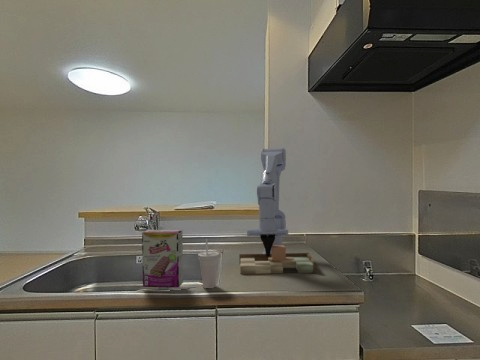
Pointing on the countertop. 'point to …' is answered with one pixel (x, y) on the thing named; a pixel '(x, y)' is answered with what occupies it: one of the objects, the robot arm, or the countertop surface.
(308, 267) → the cubby shelf
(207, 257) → the smoothie
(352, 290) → the countertop surface
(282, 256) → the block
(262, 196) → the robot arm
